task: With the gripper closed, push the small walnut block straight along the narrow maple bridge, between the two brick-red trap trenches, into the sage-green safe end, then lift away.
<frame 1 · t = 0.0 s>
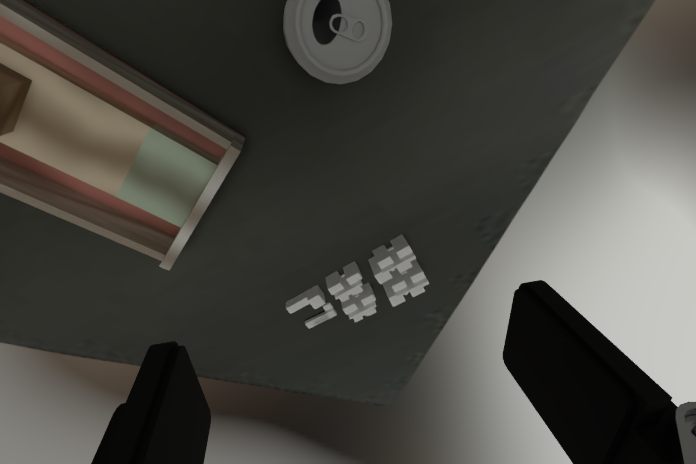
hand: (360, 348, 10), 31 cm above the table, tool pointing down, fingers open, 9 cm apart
can: (323, 29, 34), on the table
modular blocks: (353, 282, 49), on the table
trap box: (87, 127, 34), on the table
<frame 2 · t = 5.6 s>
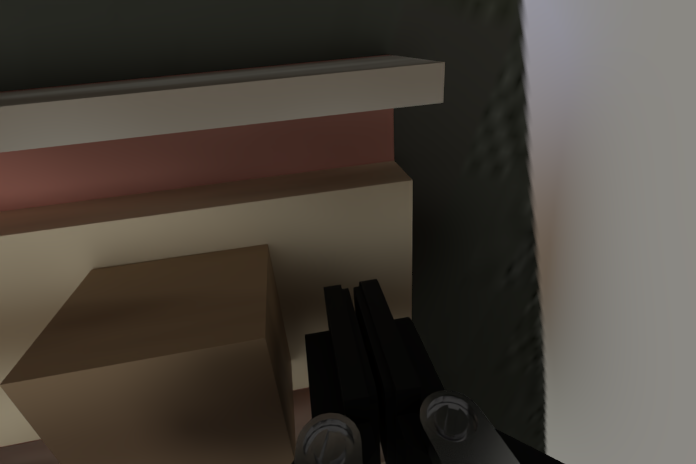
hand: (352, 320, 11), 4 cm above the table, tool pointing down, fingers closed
trap box: (67, 302, 14), on the table
walnut block: (204, 320, 12), point 3 cm above the table
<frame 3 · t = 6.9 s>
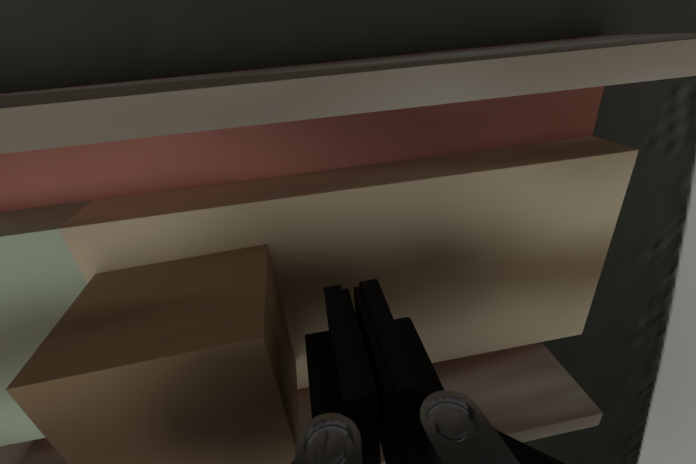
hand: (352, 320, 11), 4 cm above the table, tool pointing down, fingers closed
trap box: (272, 270, 14), on the table
walnut block: (207, 321, 12), point 3 cm above the table, touching gripper, trap box
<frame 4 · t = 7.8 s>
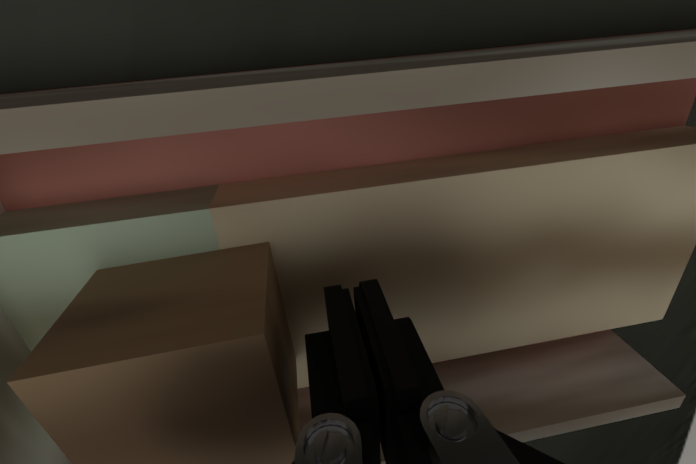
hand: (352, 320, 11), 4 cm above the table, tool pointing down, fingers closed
trap box: (369, 255, 15), on the table
walnut block: (208, 319, 12), point 3 cm above the table, touching gripper, trap box
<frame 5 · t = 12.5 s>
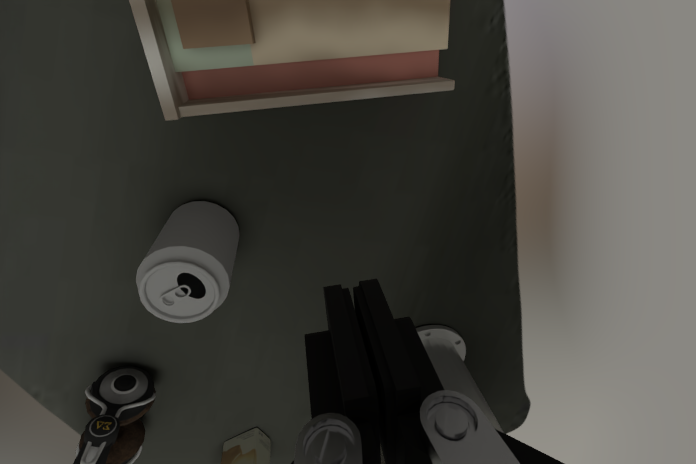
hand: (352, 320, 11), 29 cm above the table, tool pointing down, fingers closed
can: (205, 228, 40), on the table
trap box: (304, 9, 32), on the table
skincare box: (247, 439, 58), on the table
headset: (128, 392, 50), on the table
walnut block: (218, 10, 29), point 2 cm above the table, touching trap box
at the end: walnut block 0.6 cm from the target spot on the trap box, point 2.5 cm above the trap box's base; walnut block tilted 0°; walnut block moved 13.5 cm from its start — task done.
